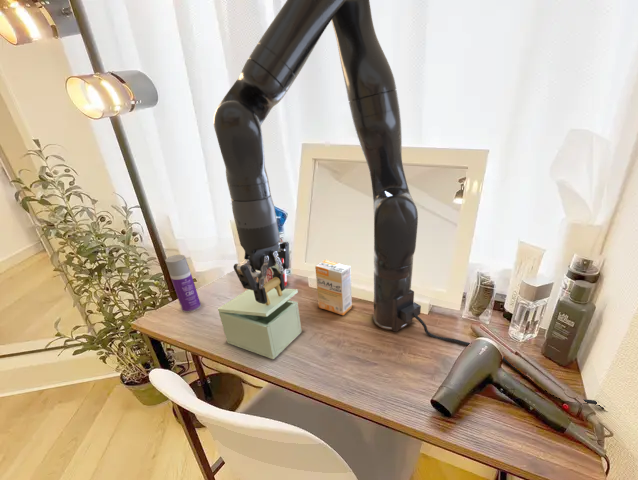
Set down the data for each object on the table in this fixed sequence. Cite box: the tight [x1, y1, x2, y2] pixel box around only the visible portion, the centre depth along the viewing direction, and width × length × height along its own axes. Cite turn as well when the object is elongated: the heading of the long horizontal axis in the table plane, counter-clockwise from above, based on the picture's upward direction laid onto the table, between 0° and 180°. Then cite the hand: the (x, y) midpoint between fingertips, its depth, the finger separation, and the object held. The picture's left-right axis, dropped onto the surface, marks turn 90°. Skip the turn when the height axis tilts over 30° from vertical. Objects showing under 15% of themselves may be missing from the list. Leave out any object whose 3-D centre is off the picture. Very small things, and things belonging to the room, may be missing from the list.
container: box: [164, 254, 202, 313], centre depth 85 cm, size 5×5×15 cm
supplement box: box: [314, 259, 353, 316], centre depth 86 cm, size 8×5×13 cm, turn 62°
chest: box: [218, 299, 303, 360], centre depth 75 cm, size 14×11×9 cm
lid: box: [217, 277, 299, 317], centre depth 71 cm, size 14×11×5 cm
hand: (271, 295), depth 70 cm, fingers closed on lid, 5 cm apart
